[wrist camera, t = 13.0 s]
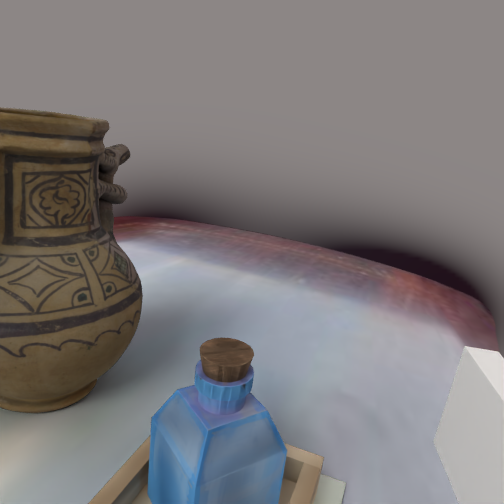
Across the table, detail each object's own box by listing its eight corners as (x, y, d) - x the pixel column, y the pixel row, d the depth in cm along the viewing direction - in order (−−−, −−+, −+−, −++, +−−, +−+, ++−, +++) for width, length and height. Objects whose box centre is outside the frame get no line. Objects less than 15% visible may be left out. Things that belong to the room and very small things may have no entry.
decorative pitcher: (-4, 506, 30) (-33, 119, 22) (-143, 407, 37) (-200, 89, 29) (185, 365, 48) (204, 129, 41) (68, 317, 56) (66, 109, 48)
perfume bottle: (226, 463, 33) (243, 319, 30) (274, 528, 29) (301, 366, 25) (147, 494, 30) (156, 336, 26) (187, 573, 25) (204, 394, 22)
